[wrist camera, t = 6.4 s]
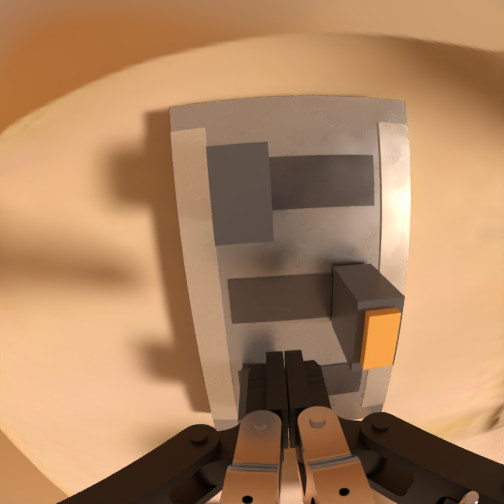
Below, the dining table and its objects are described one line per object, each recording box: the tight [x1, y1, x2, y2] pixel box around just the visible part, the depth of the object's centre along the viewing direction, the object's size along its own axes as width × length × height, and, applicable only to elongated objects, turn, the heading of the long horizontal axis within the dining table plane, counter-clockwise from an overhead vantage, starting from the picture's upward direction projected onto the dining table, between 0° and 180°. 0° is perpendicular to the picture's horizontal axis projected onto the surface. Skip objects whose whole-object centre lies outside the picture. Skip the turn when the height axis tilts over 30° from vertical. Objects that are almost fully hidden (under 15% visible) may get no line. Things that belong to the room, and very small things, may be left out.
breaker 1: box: [206, 142, 274, 246], centre depth 14 cm, size 2×4×5 cm, turn 4°
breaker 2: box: [238, 368, 251, 424], centre depth 18 cm, size 2×4×5 cm, turn 4°
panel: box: [169, 96, 410, 430], centre depth 20 cm, size 14×24×2 cm, turn 4°
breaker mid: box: [332, 263, 405, 372], centre depth 16 cm, size 2×4×6 cm, turn 4°
